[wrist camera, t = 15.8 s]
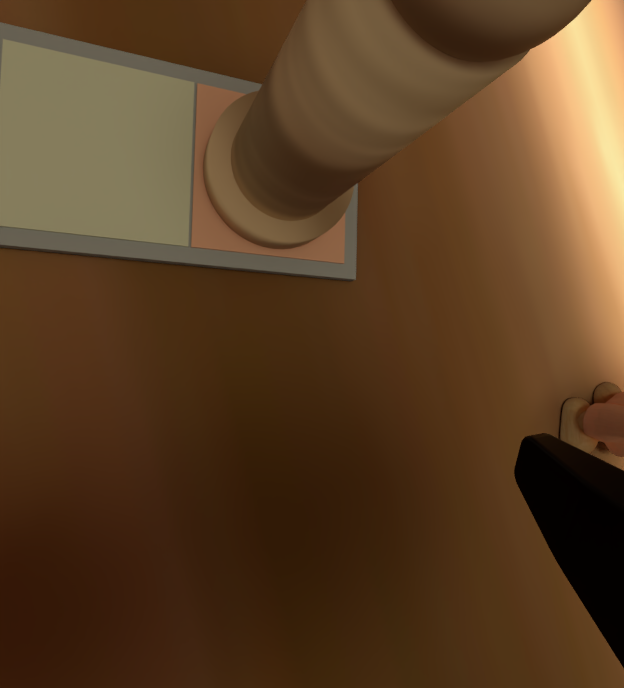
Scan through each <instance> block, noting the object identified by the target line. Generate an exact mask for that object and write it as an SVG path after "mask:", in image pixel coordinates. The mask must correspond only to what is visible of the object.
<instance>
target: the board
mask: <svg viewBox="0 0 624 688" xmlns="http://www.w3.org/2000/svg"><path fill="white" fill-rule="evenodd" d="M261 86H262V84H258V83H254V82H250V81H245V80H241V79H237V78H233V77H228V76H224V75H220V74H216V73H212V72H207V71H203V70H199V69H195V68H191V67H186V66H182V65H178V64H174V63H169V62H165V61H161V60H157V59H153V58H148V57H144V56H140V55H136V54H131V53H127V52H123V51H119V50H115V49H110V48H106V47H102V46H98V45H93V44H89V43H85V42H81V41H77V40H72V39H68V38H64V37H60V36H55V35H51V34H47V33H43V32H39V31H34V30H30V29H26V28H22V27H17V26H13V25H9V24H5V23H1V22H0V247H2V248H12V249H22V250H33V251H43V252H53V253H64V254H74V255H85V256H95V257H105V258H116V259H126V260H137V261H147V262H157V263H168V264H178V265H188V266H199V267H209V268H220V269H230V270H240V271H251V272H261V273H271V274H282V275H292V276H303V277H313V278H323V279H334V280H344V281H353V280H356V248H357V196H358V183H357V184H356V185H354V190H353V195H352V198H351V201H350V204H349V206H348V208H347V210H346V212H345V213H344V215H343V216H342V218H341V219H340V220H339V221H338V222H337V223H336V225H335V226H333V227H332V228H331V229H330V230H328V231H327V232H325V233H324V234H322V235H321V236H319V237H317V238H316V239H314V240H313V241H311V242H309V243H307V244H305V245H302V246H300V247H295V248H291V249H272V248H266V247H262V246H259V245H256V244H254V243H252V242H250V241H247V240H246V239H244V238H242V237H241V236H239V235H238V234H237V233H235V232H234V231H233V230H232V229H230V228H229V227H228V226H227V225H226V223H225V222H224V221H223V220H222V219H221V218H220V216H219V215H218V214H217V212H216V210H215V209H214V207H213V205H212V203H211V201H210V199H209V196H208V194H207V190H206V187H205V183H204V177H203V161H204V154H205V150H206V146H207V144H208V141H209V139H210V137H211V134H212V132H213V129H214V127H215V125H216V122H217V121H218V119H219V117H220V116H221V114H222V113H223V112H224V111H225V109H226V108H227V107H228V106H229V105H230V104H232V103H233V102H234V101H235V100H237V99H239V98H240V97H242V96H244V95H246V94H248V93H251V92H255V91H259V90H260V88H261Z"/></svg>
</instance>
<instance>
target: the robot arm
mask: <svg viewBox="0 0 624 688" xmlns="http://www.w3.org/2000/svg"><path fill="white" fill-rule="evenodd" d="M514 474H515V479H516V482H517V485H518V487H519V489H520V491H521V493H522V495H523V497H524V499H525V501H526V503H527V505H528V507H529V508H530V510H531V512H532V514H533V516H534V518H535V520H536V522H537V524H538V526H539V528H540V530H541V532H542V534H543V536H544V538H545V540H546V542H547V544H548V546H549V548H550V550H551V552H552V554H553V556H554V557H555V559H556V561H557V563H558V564H559V566H560V568H561V569H562V571H563V573H564V574H565V576H566V578H567V579H568V581H569V582H570V584H571V585H572V587H573V589H574V590H575V592H576V593H577V595H578V596H579V598H580V600H581V601H582V603H583V604H584V606H585V608H586V609H587V611H588V612H589V614H590V615H591V617H592V619H593V620H594V622H595V623H596V625H597V627H598V628H599V630H600V631H601V633H602V634H603V636H604V638H605V639H606V641H607V642H608V644H609V646H610V647H611V649H612V650H613V652H614V653H615V655H616V657H617V658H618V660H619V661H620V663H621V665H622V666H623V668H624V471H623V470H621V469H619V468H617V467H615V466H613V465H611V464H609V463H607V462H605V461H603V460H601V459H599V458H597V457H595V456H593V455H591V454H589V453H587V452H585V451H583V450H581V449H579V448H577V447H575V446H573V445H571V444H569V443H567V442H565V441H563V440H561V439H559V438H557V437H554V436H552V435H550V434H547V433H541V434H536V435H531V436H527V437H525V438H524V439H523V440H522V442H521V445H520V449H519V453H518V457H517V461H516V465H515V470H514Z"/></svg>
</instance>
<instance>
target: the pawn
mask: <svg viewBox="0 0 624 688" xmlns="http://www.w3.org/2000/svg"><path fill="white" fill-rule="evenodd" d="M590 1H591V0H307V1H306V2H305V4H304V6H303V8H302V10H301V12H300V14H299V16H298V18H297V20H296V21H295V23H294V25H293V27H292V29H291V31H290V33H289V35H288V37H287V38H286V40H285V42H284V44H283V46H282V48H281V50H280V52H279V54H278V56H277V57H276V59H275V61H274V63H273V65H272V67H271V69H270V71H269V73H268V75H267V76H266V78H265V80H264V82H263V84H262V86H261V88H260V90H259V91H255V92H251V93H248V94H246V95H244V96H242V97H240V98H239V99H237V100H235V101H234V102H233V103H232V104H230V105H229V106H228V107H227V108H226V109H225V111H224V112H223V113H222V114H221V116H220V117H219V119H218V121H217V122H216V125H215V127H214V129H213V132H212V134H211V137H210V139H209V141H208V144H207V146H206V150H205V154H204V161H203V177H204V183H205V187H206V190H207V194H208V196H209V199H210V201H211V203H212V205H213V207H214V209H215V210H216V212H217V214H218V215H219V216H220V218H221V219H222V220H223V221H224V222H225V223H226V225H227V226H228V227H229V228H230V229H232V230H233V231H234V232H235V233H237V234H238V235H239V236H241V237H242V238H244V239H246V240H247V241H250V242H252V243H254V244H256V245H259V246H262V247H266V248H272V249H291V248H295V247H300V246H302V245H305V244H307V243H309V242H311V241H313V240H314V239H316V238H317V237H319V236H321V235H322V234H324V233H325V232H327V231H328V230H330V229H331V228H332V227H333V226H335V225H336V223H337V222H338V221H339V220H340V219H341V218H342V216H343V215H344V213H345V212H346V210H347V208H348V206H349V204H350V201H351V198H352V195H353V190H354V185H356V184H357V183H358V182H360V181H361V180H362V179H364V178H365V177H366V176H368V175H369V174H370V173H372V172H373V171H374V170H376V169H377V168H378V167H380V166H381V165H382V164H384V163H385V162H386V161H388V160H389V159H390V158H392V157H393V156H394V155H396V154H397V153H398V152H400V151H401V150H402V149H404V148H405V147H406V146H408V145H409V144H410V143H412V142H413V141H414V140H416V139H417V138H418V137H420V136H421V135H422V134H424V133H425V132H426V131H428V130H429V129H430V128H432V127H433V126H434V125H436V124H437V123H438V122H439V121H441V120H442V119H443V118H445V117H446V116H447V115H449V114H450V113H451V112H453V111H454V110H455V109H457V108H458V107H459V106H461V105H462V104H463V103H465V102H466V101H467V100H469V99H470V98H471V97H473V96H474V95H475V94H477V93H478V92H479V91H481V90H482V89H483V88H485V87H486V86H487V85H489V84H490V83H491V82H493V81H494V80H495V79H497V78H498V77H499V76H501V75H502V74H503V73H505V72H506V71H507V70H509V69H510V68H511V67H513V66H514V65H515V64H517V63H518V62H519V61H520V60H521V59H522V58H523V57H524V56H525V55H526V54H527V53H528V52H529V50H530V49H532V48H534V47H536V46H538V45H540V44H542V43H543V42H545V41H546V40H548V39H549V38H551V37H552V36H554V35H555V34H557V33H558V32H559V31H560V30H562V29H563V28H564V27H565V26H567V25H568V24H569V23H570V22H571V21H572V20H574V19H575V18H576V17H577V16H578V15H579V13H580V12H581V11H582V10H583V9H584V8H585V7H586V6H587V5H588V4H589V2H590Z"/></svg>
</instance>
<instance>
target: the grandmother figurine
mask: <svg viewBox="0 0 624 688" xmlns="http://www.w3.org/2000/svg"><path fill="white" fill-rule="evenodd" d="M593 398H594V404H593V405H591V406H590V405H589V404H588V402H587V401H585V400H583V399H581V398H570V399H568V400H566V402H565V403H564V405H563V408H562V415H561V428H560V439H561V440H563V441H565V442H567V443H569V444H571V445H573V446H575V447H577V448H579V449H581V450H583V451H585V452H587V453H591V452H592V451H593V450H594V449H595V448H596V446H597V443H598V442H599V441H600V442H603V443H605V445H606V446H607V448H608V449H609V451H610V452H611V453H612V454H614V455H616V456H620V457H624V392H621V390H620V389H619V388H618V387H617V386H616V385H615V384H613V383H610V382H604V383H602V384H600V385H599V386H598V387H597V388H596V389H595V392H594V397H593Z"/></svg>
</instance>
